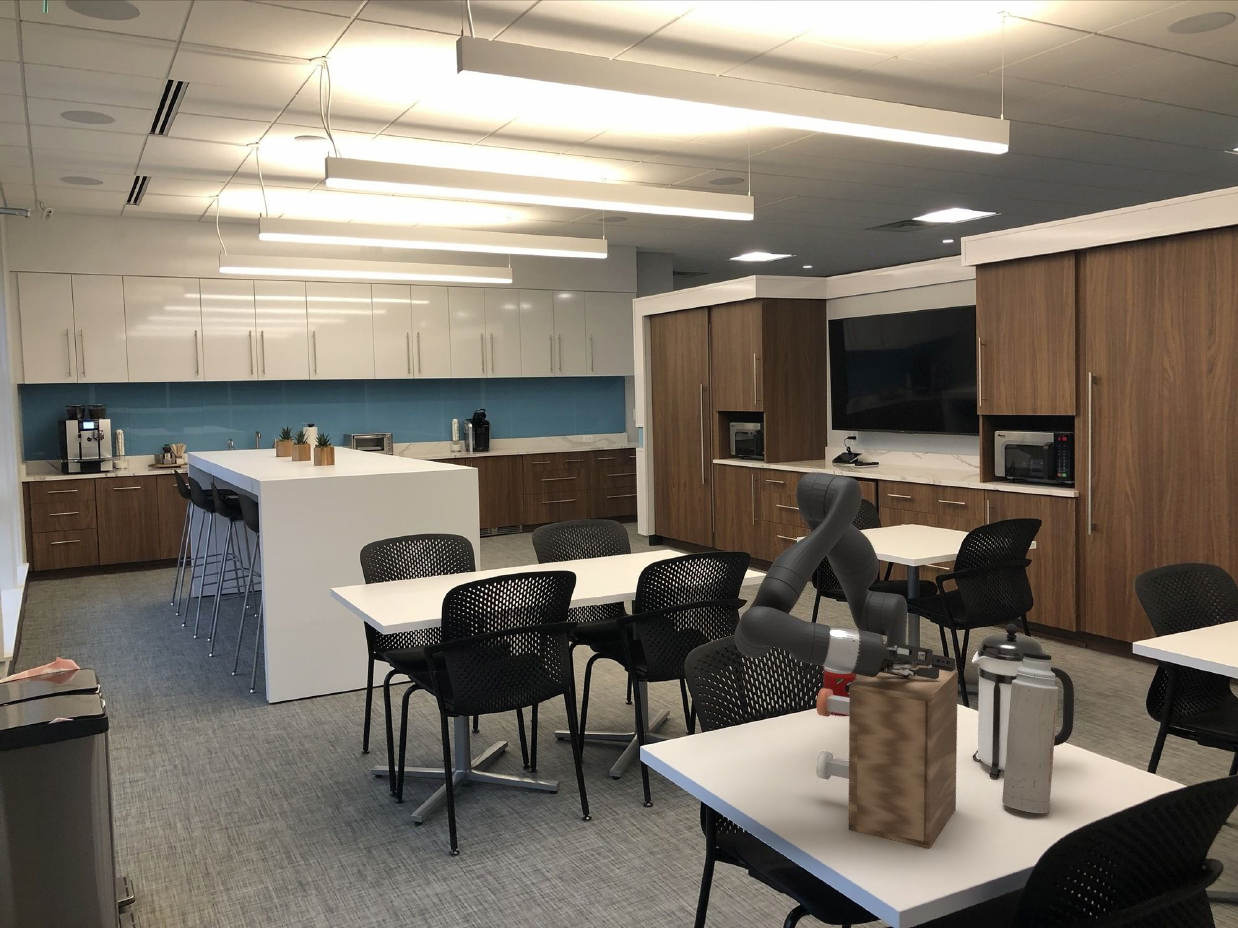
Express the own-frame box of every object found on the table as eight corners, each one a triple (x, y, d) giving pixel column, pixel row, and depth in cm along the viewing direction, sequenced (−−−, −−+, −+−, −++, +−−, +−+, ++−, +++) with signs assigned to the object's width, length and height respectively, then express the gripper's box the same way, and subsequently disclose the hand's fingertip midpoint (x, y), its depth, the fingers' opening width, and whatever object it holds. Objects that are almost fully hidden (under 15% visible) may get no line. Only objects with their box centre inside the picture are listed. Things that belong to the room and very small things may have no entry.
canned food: (838, 718, 228) (838, 672, 228) (816, 708, 235) (816, 664, 235) (863, 713, 232) (863, 668, 231) (841, 704, 239) (841, 660, 238)
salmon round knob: (816, 718, 179) (816, 691, 178) (826, 710, 183) (826, 685, 182) (888, 731, 171) (889, 703, 171) (897, 723, 175) (897, 696, 175)
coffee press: (1031, 791, 185) (1034, 637, 183) (955, 767, 197) (957, 622, 195) (1073, 769, 196) (1077, 623, 194) (999, 747, 208) (1002, 610, 206)
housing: (848, 829, 170) (849, 683, 168) (880, 793, 185) (881, 659, 183) (929, 848, 162) (931, 696, 160) (955, 809, 177) (957, 670, 175)
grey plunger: (816, 781, 179) (816, 755, 179) (825, 772, 184) (825, 747, 183) (888, 797, 172) (888, 769, 172) (896, 787, 176) (896, 760, 176)
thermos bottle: (1050, 806, 178) (1062, 654, 180) (1047, 816, 171) (1059, 657, 173) (1004, 796, 182) (1016, 648, 184) (999, 805, 175) (1012, 650, 177)
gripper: (864, 620, 161) (962, 639, 160) (843, 637, 174) (934, 655, 173) (859, 665, 158) (959, 684, 157) (839, 678, 171) (931, 697, 171)
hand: (946, 669), depth 165 cm, fingers open, 7 cm apart
